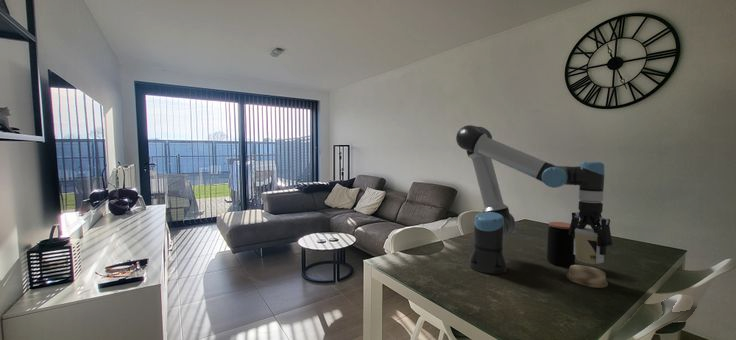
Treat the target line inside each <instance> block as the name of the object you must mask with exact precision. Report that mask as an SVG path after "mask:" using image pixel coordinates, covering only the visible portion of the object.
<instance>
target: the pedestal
mask: <svg viewBox="0 0 736 340" xmlns="http://www.w3.org/2000/svg"><path fill="white" fill-rule="evenodd" d="M568 268H569V271H568V273H567V274H566V278H567V279H568V280H570V281H571V282H573V283H575V284H578V285H581V286H583V287H589V288H595V289H596V288H597V289H599V288H600V289H603V288H607V287H608V285H609V282H608V281H607V280H606V279H607V276H606V275H607V273H606V272H605V271H603V270H601V269H600V268H596V267H592V266H589V265H583V264H574V265H571V266H570V267H568Z"/></svg>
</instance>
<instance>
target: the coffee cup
mask: <svg viewBox="0 0 736 340" xmlns="http://www.w3.org/2000/svg"><path fill="white" fill-rule="evenodd" d="M597 237H598V235H597V233H594V230H593V229H592V228H591V227H585V228H584V229H578V228H576V229H575V248H576V255H575V260H577V261H578V262H582V263H585V264H590V265H598V264H601V263H596V250H597V246H598V245H599V244H598V241H597Z"/></svg>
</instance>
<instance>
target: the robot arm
mask: <svg viewBox="0 0 736 340" xmlns="http://www.w3.org/2000/svg"><path fill="white" fill-rule="evenodd" d="M455 140H456V144H457V145H458V147H460V148H461V149H462V150H465V151H466V155H467V157H468V158H469V159H471V161H472V164H473V168H474V172H475V176H476V180H477V183H478V187H479V192H480V196H481V199H482V202H483V206H484V207H483V209H482V211H481V212H479V213H477V214H476V215H475V217H474V236H473V250H472V252H471V255H470V257H469V260H468V261H469V263H468V264H469V265H468V266H469V267H470V268H471V269H472V270H474V271H477V272H480V273H483V274H488V275H489V274H491V275H501V274H504V273H506V272H507V270H508V269H507V267H508V266H507V265H508V264H507V261H506V258H505V254H504V252H503V251H504V249H503V248H504V239H505V238H506V237H507V236H509V235H511V234H512V233H513V231H515V227H516V221H515V218H514V215H512V214H511V212H510V209H509V206H508V205H506V204H505V203H504V200H503V197H502V194H501V190H500V186H499V183H498V182H499V181H498V178H497V175H496V171H495V167H494V164H493V160H494V161H496V162H498V163H500V164H503V165H505V166H507V167H509V168H511V169H513V170H516V171H518V172H520V173H523V174H524V175H527V176H529V177H531V178H534V180H535V179H536V180H537V181H539V182H542V183H544V185H545V186H546V187H549V188H560V187H563V186H564V185H566V186H567V185H568V186H578V187H579V188H578V200H579V201H578V206H577V207H578V211H579V212H571V221H570V228H569V232H568V234H569V235H571V236H572V237H573V245H574V255H575V256H576V248H575V229H576V228H578V229H584V228H587V227H586V226H590V228H591V229H593V230H594V233H597V235H598V237H597V241H598V244H599V245H598V246H597V250H596V263H600V264H603V263H605V262H604V261H605V255H607V247H612V246H613V240H612V233H611V227H610V225H611V219H609V218H605V217H602V213H603V212H604V211H603V209H604V206H603V205H604V203H603V201H604V185H605V164H604V163H603V162H601V161H581V162H580V165H579V166H569V165H568V166H567V165H564V166H563V165H561V166H560V165H555V164H552V163H551V162H548V161H545V160H542V159H540V158H538V157H536V156H533V155H530V154H529V153H525V152H524V151H521V150H519V149H517V148H514V147H511V146H509V145H506V144H505V143H502V142H501V141H497V140H495V139H493V135H492V134H491V132H490V131H489V130H488V129H486V128H485V127H482V126H476V125H472V124H471V125H470V124H469V125H464V126H463V127H461V128H460V129H459V130H458V131H457V133H456V137H455Z"/></svg>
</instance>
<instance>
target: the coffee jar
mask: <svg viewBox="0 0 736 340" xmlns="http://www.w3.org/2000/svg"><path fill="white" fill-rule="evenodd" d="M570 224H571V222H563V221H549V222H548V226H549V227H548V228H547V244H546V245H547V248H546V259H547V261H548V262H549V264H551V265H554V266H557V267H561V268H562V267H563V268H569V267H570V266H571V265H576V264H575V263H576V255H574V245H573V237H572V236H571V235H569V234H568V232H569V228H570Z"/></svg>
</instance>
